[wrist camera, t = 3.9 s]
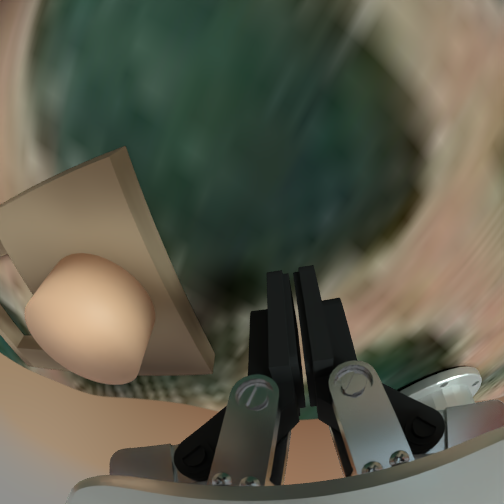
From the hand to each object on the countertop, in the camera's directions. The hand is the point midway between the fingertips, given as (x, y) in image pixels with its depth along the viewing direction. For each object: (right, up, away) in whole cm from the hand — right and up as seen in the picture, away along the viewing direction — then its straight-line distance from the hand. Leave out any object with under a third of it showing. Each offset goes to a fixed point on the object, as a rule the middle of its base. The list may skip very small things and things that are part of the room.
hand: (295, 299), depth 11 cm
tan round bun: (-9, -1, +3) cm, 10 cm away
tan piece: (-14, -1, +4) cm, 15 cm away
